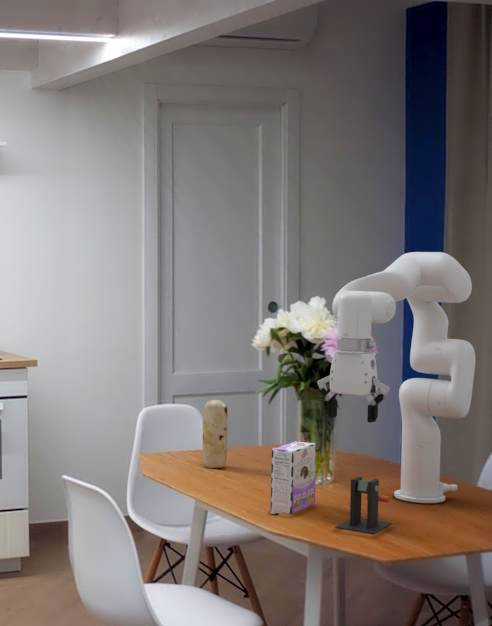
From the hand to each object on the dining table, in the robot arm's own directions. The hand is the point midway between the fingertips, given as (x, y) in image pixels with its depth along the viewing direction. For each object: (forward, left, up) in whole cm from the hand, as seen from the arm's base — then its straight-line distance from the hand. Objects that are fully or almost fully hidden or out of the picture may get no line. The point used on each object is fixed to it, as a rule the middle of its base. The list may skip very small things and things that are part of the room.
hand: (351, 419), depth 247 cm
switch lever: (-5, -1, -19) cm, 19 cm away
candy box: (+7, -17, -26) cm, 32 cm away
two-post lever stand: (-3, +2, -26) cm, 26 cm away
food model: (+11, -72, -26) cm, 77 cm away
